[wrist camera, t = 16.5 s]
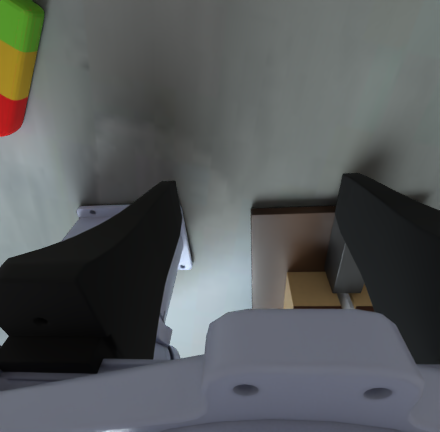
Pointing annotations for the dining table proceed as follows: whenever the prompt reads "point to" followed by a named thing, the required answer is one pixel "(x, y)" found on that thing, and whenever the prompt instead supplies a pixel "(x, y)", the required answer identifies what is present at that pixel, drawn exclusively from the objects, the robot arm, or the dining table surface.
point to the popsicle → (17, 59)
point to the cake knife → (342, 269)
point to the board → (286, 248)
